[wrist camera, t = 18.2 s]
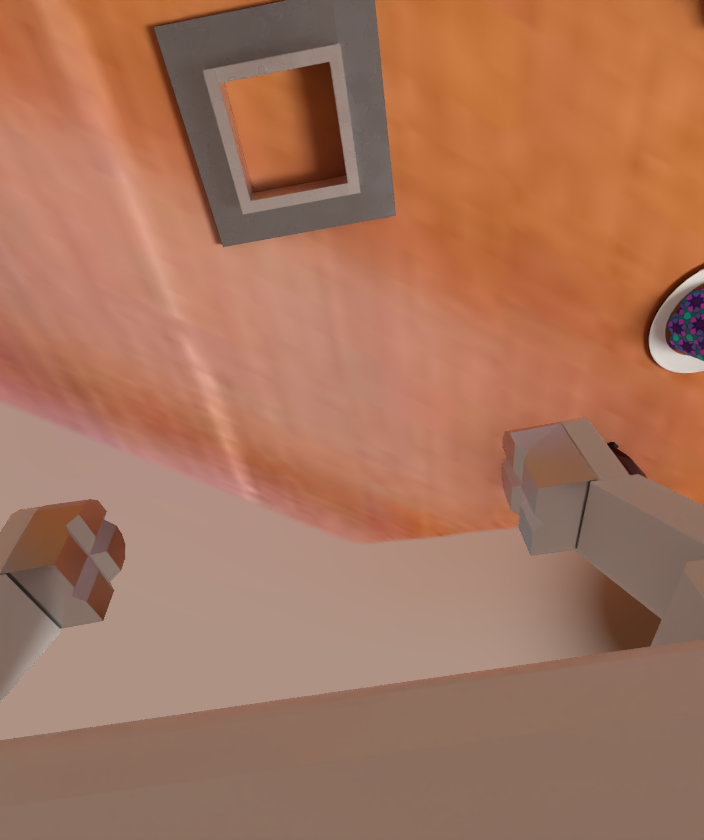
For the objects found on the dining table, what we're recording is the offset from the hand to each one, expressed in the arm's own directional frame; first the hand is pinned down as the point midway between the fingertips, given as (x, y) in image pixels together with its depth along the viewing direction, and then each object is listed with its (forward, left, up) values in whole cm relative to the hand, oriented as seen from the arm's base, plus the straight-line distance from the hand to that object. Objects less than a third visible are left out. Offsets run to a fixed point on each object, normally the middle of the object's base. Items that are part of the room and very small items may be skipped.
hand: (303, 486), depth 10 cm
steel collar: (-1, +2, -34) cm, 34 cm away
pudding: (+35, -20, -35) cm, 53 cm away
